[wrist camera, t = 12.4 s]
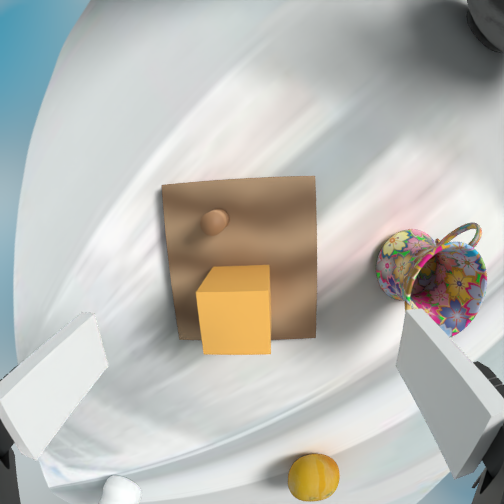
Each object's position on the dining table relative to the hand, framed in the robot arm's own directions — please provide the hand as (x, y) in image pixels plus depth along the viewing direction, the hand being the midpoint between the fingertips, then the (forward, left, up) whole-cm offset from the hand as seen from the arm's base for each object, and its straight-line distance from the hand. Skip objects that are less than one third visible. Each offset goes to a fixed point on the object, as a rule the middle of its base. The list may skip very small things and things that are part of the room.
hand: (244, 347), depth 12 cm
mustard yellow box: (+5, -2, -21) cm, 22 cm away
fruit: (+36, +7, -23) cm, 43 cm away
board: (+2, -2, -23) cm, 23 cm away
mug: (+2, +18, -23) cm, 29 cm away
